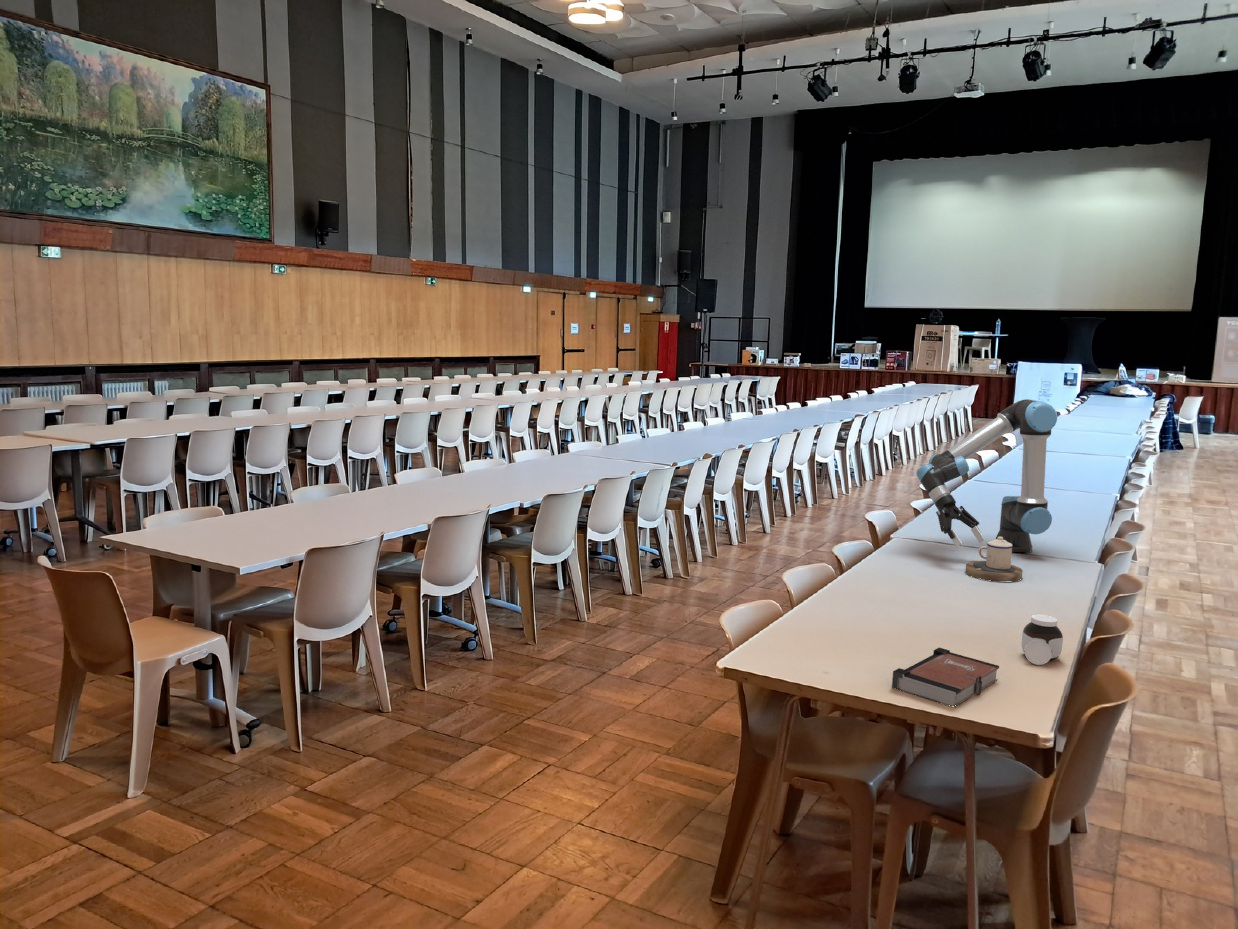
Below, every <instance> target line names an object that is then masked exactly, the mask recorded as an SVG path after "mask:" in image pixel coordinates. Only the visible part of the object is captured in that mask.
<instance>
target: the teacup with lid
mask: <svg viewBox="0 0 1238 929" xmlns="http://www.w3.org/2000/svg"><path fill="white" fill-rule="evenodd" d="M1012 547H1013V545H1012V544H1011V543H1008V542H1007V541H1005V540H1003V537H998V538H997V539H996V538H995V539H993V540H989V541H988V542H987V543H986V545H982V546H980V547H979V548H978V555H979V556H980V558H981V559H983V560H985V561H986V566H987V567H989V568H993V569H1001V570H1005V569H1010V567H1011V565H1012V554H1013V552H1012ZM982 549H986V556H984V555H983V553H982V552H981V550H982Z"/></svg>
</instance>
